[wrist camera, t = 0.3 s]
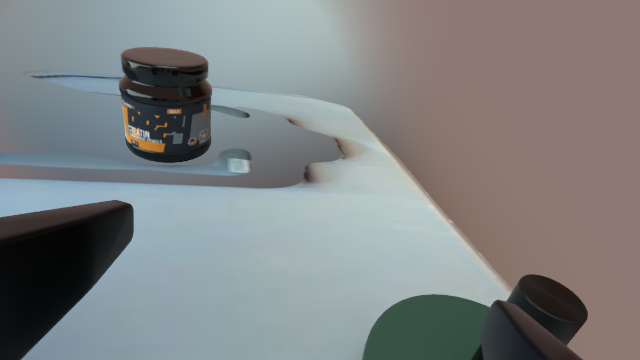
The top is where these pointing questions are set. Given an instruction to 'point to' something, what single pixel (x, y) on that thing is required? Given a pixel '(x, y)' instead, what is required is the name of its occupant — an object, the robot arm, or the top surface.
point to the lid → (467, 322)
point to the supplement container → (166, 103)
